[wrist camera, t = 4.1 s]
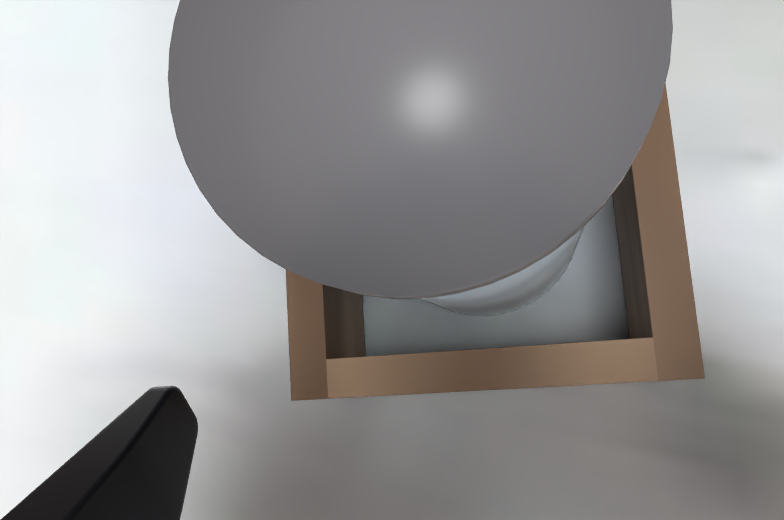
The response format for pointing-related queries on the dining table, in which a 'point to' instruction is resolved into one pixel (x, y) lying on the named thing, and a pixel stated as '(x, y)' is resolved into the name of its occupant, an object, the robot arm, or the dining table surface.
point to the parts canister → (416, 134)
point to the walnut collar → (537, 362)
